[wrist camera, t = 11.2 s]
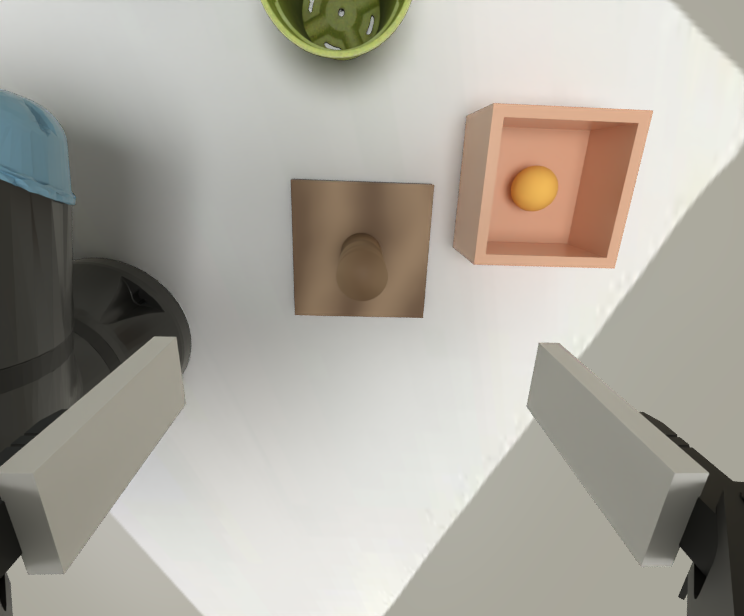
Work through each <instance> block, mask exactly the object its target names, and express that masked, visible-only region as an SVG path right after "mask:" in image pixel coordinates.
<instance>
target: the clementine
mask: <svg viewBox="0 0 744 616" xmlns="http://www.w3.org/2000/svg"><path fill="white" fill-rule="evenodd" d="M557 192H558V180H557V178H556V176H555V174H554V173H553V172H552V171H551V170H550V169H548V168H546V167H544V166H530V167H527V168H525V169H524V170H522V171H521V172H519V173H518V174H517V176H516V177H515V179H514V180H513V182H512V186H511V196H512V199H513V201H514V203H515V204H516V205H517V206H518V207H519V208H521V209H523V210H526V211H539V210H542V209H544V208H545V207H547V206H548V205H550V204H551V203H552V201H553V200H554V199H555V197H556V195H557Z"/></svg>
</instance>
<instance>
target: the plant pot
mask: <svg viewBox="0 0 744 616" xmlns="http://www.w3.org/2000/svg"><path fill="white" fill-rule="evenodd" d="M411 1H412V0H314V4H313V8H312V12H311V13H310V12H309V10H308V7H309V3H310V0H261V2H262V5H263V7H264V9H265V11H266V13H267V14H268V16H269V18H270V19H271V20H272V22H273V23H274V25H275V26H276V27H277V28H278V29H279V31H280V32H281V33H282V34H283V35H284V36H285V37H286V38H288V39H289V40H290V41H291V42H292V43H294V44H295V45H297V46H298V47H300V48H301V49H303V50H305V51H307V52H309V53H312V54H314V55H318V56H321V57H327V58H332V59H336V60H350V59H353V58H356V57H358V56H360V55H362V54H365V53H367V52H369V51H371V50H373V49H375V48H376V47H378V46H379V45H381V44H382V43H383V42H384V41H386V40H387V39H388V38H389V37H390V36H391V35H392V34H393V33H394V31H395V30H396V29H397V28H398V26H399V25H400V23H401V22H402V20H403V18H404V17H405V15H406V13H407V11H408V8H409V6H410V4H411ZM339 9H344V11H345V14H344V15H343V17H341V16H339V14H338V12H339ZM371 15H373V17H374V18H375V19H374V25H373V29H372V31H371V33H370V34H369V35H367V34H366V32H367V30H368V27H369V24H370V19H371ZM325 42H327V43H329V44H330V45H332V46H334V47H339V48H341V50H333V49H328V48H326V47H325V45H324V43H325Z"/></svg>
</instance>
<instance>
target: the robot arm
mask: <svg viewBox="0 0 744 616" xmlns="http://www.w3.org/2000/svg"><path fill="white" fill-rule="evenodd" d="M75 202H76V196H75V195H74V194H73V193H72V191H71V179H70V168H69V156H68V145H67V139H66V135H65V133H64V130H63V128H62V127H61V125H60V124H59V122H58V121H57V120H56V118H55V117H54V116H53V115H52V114H51V113H50V112H49V111H47V110H46V109H45V108H44V107H42V106H40V105H39V104H37V103H35V102H34V101H32V100H29V99H27V98H24V97H22V96H19V95H17V94H14V93H11V92H8V91H6V90H3V89H0V616H13V613H12V598H11V583H10V581H9V578H8V575H7V573H6V572H7V570H8V569H9V568H10V567H11V566H12V564H13V563H14V562H15V561H16V560H17V558H19V556H20V555H21V556H22V559H23V562H24V564H25V567H26V570H27V573H28V574H29V575H30V574H31V575H34V574H65V573H66V571H67V570H68V568H69V567H70V566H71V564H72V563H73V561H74V560H75V559H76V557H77V556H78V554H79V553H80V551H81V550H82V549H83V547H84V546H85V544H86V543H87V542H88V540H89V539H90V537H91V536H92V535H93V533H94V532H95V530H96V529H97V528H98V526H99V525H100V524H101V522H102V521H103V519H104V518H105V516H106V515H107V514H108V512H109V511H110V509H111V508H112V507H113V505H114V504H115V502H116V501H117V500H118V498H119V497H120V495H121V494H122V493H123V491H124V490H125V488H126V487H127V486H128V484H129V483H130V481H131V480H132V479H133V477H134V476H135V474H136V473H137V472H138V470H139V469H140V467H141V466H142V465H143V463H144V462H145V460H146V459H147V458H148V456H149V455H150V453H151V452H152V451H153V449H154V448H155V446H156V445H157V444H158V442H159V441H160V439H161V438H162V437H163V435H164V434H165V432H166V431H167V430H168V428H169V427H170V425H171V424H172V423H173V421H174V420H175V418H176V417H177V416H178V414H179V413H180V411H181V410H182V409H183V407H184V406H185V404H186V401H185V394H184V387H183V380H182V374H183V372H184V371H185V369H186V366H187V364H188V361H189V357H190V352H191V335H190V330H189V326H188V323H187V320H186V317H185V315H184V313H183V311H182V309H181V307H180V306H179V304H178V303H177V301H176V300H175V298H174V297H173V296H172V295H171V293H170V292H169V291H168V290H167V289H166V288H165V287H164V286H163V285H162V284H160V283H159V282H158V281H157V280H156V279H154V278H153V277H151V276H150V275H148V274H147V273H145V272H143V271H142V270H140V269H138V268H136V267H133V266H131V265H129V264H126V263H123V262H119V261H116V260H111V259H104V258H83V259H77V260H73V251H72V205H75ZM527 408H528V409H529V411H530V412H531V414H532V415H533V416H534V418H535V419H536V421H537V422H538V423H539V425H540V426H541V428H542V429H543V430H544V432H545V433H546V435H547V436H548V437H549V439H550V440H551V442H552V443H553V444H554V446H555V447H556V448H557V450H558V451H559V452H560V454H561V455H562V457H563V458H564V460H565V461H566V462H567V464H568V465H569V467H570V468H571V469H572V471H573V472H574V474H575V475H576V477H577V478H578V479H579V481H580V482H581V484H582V485H583V486H584V488H585V489H586V491H587V492H588V493H589V495H590V496H591V498H592V499H593V500H594V502H595V503H596V505H597V506H598V507H599V509H600V510H601V512H602V513H603V514H604V516H605V517H606V518H607V520H608V521H609V523H610V524H611V526H612V527H613V528H614V530H615V531H616V533H617V534H618V535H619V537H620V538H621V540H622V541H623V542H624V544H625V545H626V547H627V548H628V549H629V551H630V552H631V554H632V555H633V556H634V558H635V559H636V561H637V562H638V563H639V565H640V566H641V567H665V566H666V567H670V566H672V565H673V563H674V560H675V557H676V555H677V553H678V550H679V548H680V547H681V548H682V549H683V551H684V552H685V553H686V554H687V555H688V556H689V557H690V559H691V560H692V561H693V563H692V565H691V567H690V570H689V572H688V575H687V577H686V579H685V582H684V584H683V586H682V589H681V591H680V594H679V596H678V597H679V598H681V599H683V600H684V599H685V597H686V595H687V616H744V482H735V481H732V480H731V479H730V478H728V477H727V476H726V475H725V474H724V473H722V472H721V471H720V470H719V469H718V468H716V467H715V466H714V465H713V464H711V463H710V462H709V461H708V460H707V459H706V458H704V457H703V456H702V455H701V454H700V453H698V452H697V451H696V450H695V449H693V448H690V447H689V444H688V443H686V442H685V441H684V440H682V439H681V438H680V437H677V434H676V433H674V432H673V431H672V430H671V429H670V428H668V427H667V426H666V425H665V424H663V423H662V422H660V421H658V420H657V419H655V418H653V417H651V416H649V415H648V414H646V413H644V412H638V411H637V410H636V409H635V408H633V407H632V406H631V405H630V404H629V403H628V402H627V401H625V400H624V399H623V398H622V397H621V396H619V395H618V394H617V393H616V392H615V391H614V390H612V389H611V388H610V387H609V386H608V385H607V384H606V383H605V382H603V381H602V380H601V379H600V378H599V377H598V376H596V375H595V374H594V373H593V372H592V371H590V369H588V368H587V367H586V366H585V365H584V364H583V363H581V362H580V361H579V360H578V359H577V358H576V357H575V356H573V355H572V354H571V353H570V352H569V351H568V350H566V349H565V348H564V347H563V346H562V345H561V344H560V343H539V345H538V350H537V355H536V360H535V365H534V371H533V376H532V381H531V386H530V391H529V396H528V402H527Z"/></svg>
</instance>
